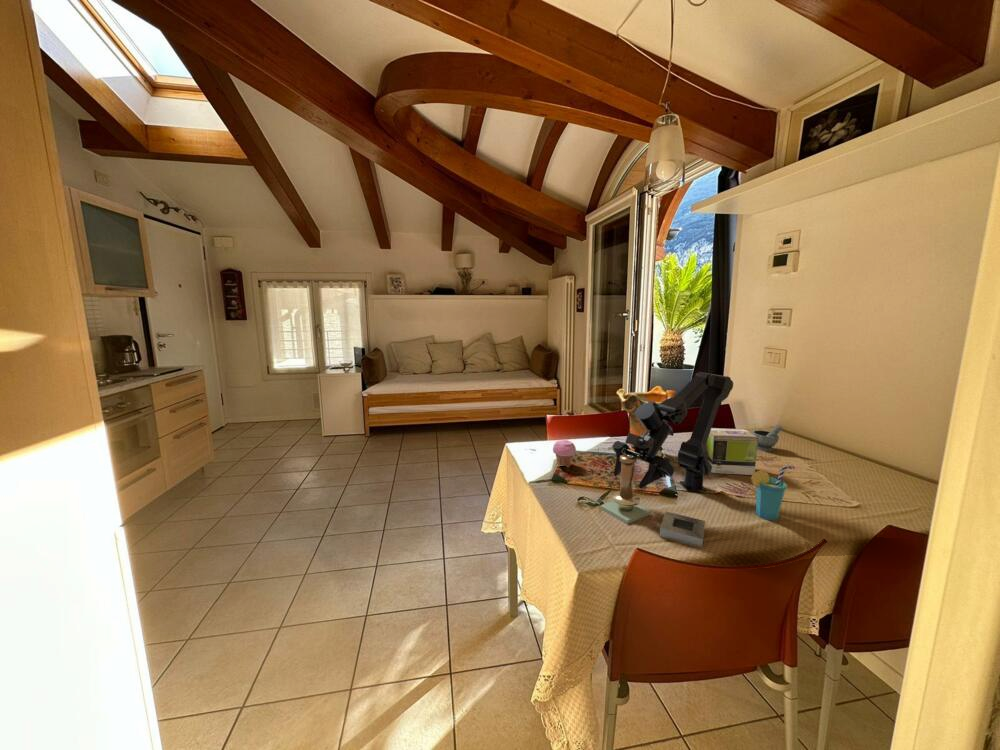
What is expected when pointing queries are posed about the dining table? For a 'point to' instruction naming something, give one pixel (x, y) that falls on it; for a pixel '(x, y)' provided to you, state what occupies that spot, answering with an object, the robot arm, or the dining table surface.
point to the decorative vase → (637, 399)
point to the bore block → (682, 529)
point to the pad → (625, 516)
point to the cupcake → (564, 452)
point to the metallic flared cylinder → (626, 485)
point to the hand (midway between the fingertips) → (626, 481)
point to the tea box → (732, 451)
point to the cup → (769, 493)
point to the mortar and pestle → (767, 438)
